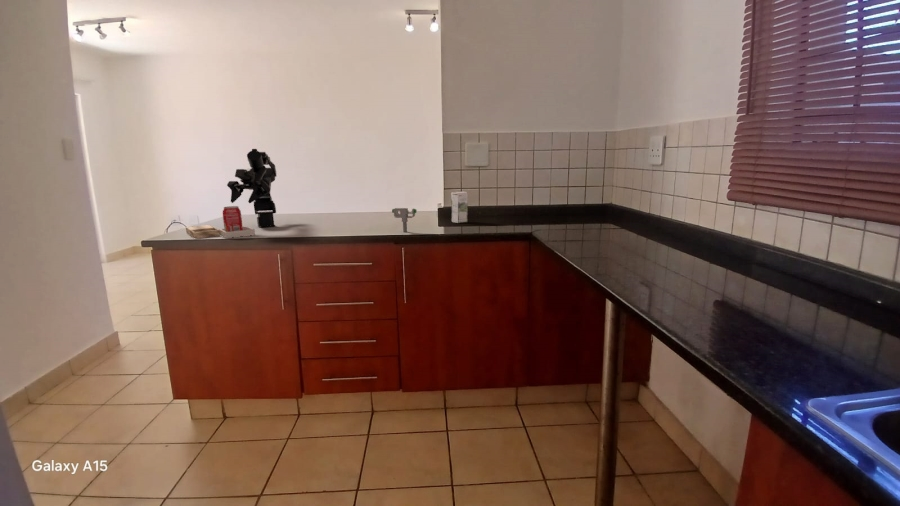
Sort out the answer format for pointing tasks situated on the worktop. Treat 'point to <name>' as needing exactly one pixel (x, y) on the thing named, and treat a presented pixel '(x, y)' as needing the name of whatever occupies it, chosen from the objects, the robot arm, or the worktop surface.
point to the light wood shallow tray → (202, 231)
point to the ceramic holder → (237, 232)
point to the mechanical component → (403, 215)
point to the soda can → (232, 219)
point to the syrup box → (459, 207)
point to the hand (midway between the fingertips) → (240, 202)
